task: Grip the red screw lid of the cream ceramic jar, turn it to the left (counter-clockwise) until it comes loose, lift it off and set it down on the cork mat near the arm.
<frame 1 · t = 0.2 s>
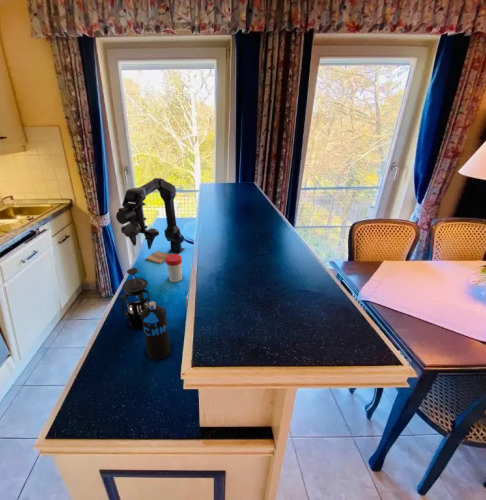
hand: (142, 247, 136), 15 cm above the table, tool pointing down, fingers open, 9 cm apart
aerosol can: (158, 351, 95), on the table
cork mat: (158, 257, 157), on the table
jar: (175, 278, 137), on the table
lid: (173, 258, 132), point 11 cm above the table, screwed on, not yet turned
french press: (140, 321, 109), on the table
small box: (196, 315, 112), on the table
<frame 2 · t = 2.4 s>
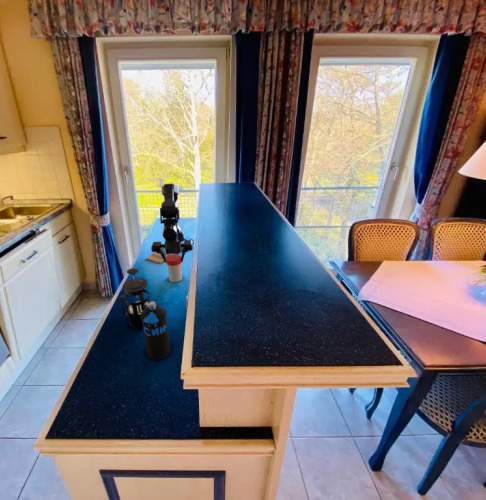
hand: (173, 262, 133), 9 cm above the table, tool pointing down, fingers closed on lid, 7 cm apart
lid: (173, 258, 132), point 11 cm above the table, screwed on, not yet turned, touching gripper
everything else where it was.
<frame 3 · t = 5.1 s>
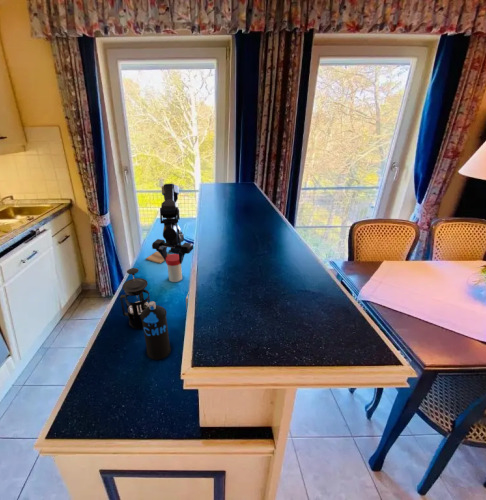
hand: (174, 262, 133), 9 cm above the table, tool pointing down, fingers closed on lid, 7 cm apart
lid: (173, 258, 132), point 11 cm above the table, off its thread, touching gripper
everything else where it was.
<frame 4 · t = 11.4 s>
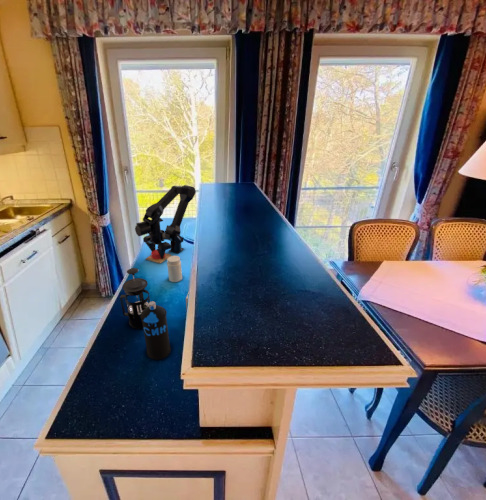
hand: (158, 256, 156), 1 cm above the table, tool pointing down, fingers closed on lid, 7 cm apart
lid: (158, 253, 155), point 3 cm above the table, off its thread, touching gripper
everything else where it was.
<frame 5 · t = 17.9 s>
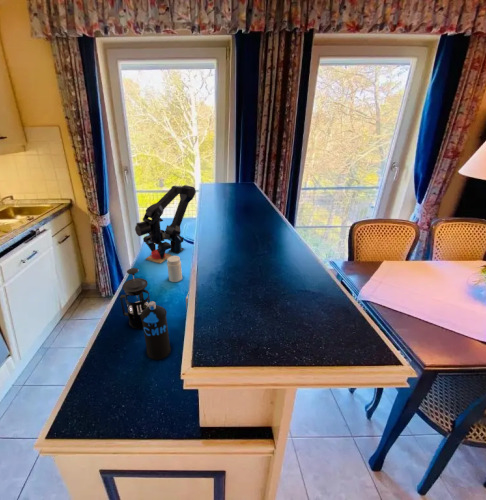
hand: (158, 256, 156), 1 cm above the table, tool pointing down, fingers closed on lid, 7 cm apart
lid: (158, 253, 155), point 3 cm above the table, off its thread, touching gripper
everything else where it was.
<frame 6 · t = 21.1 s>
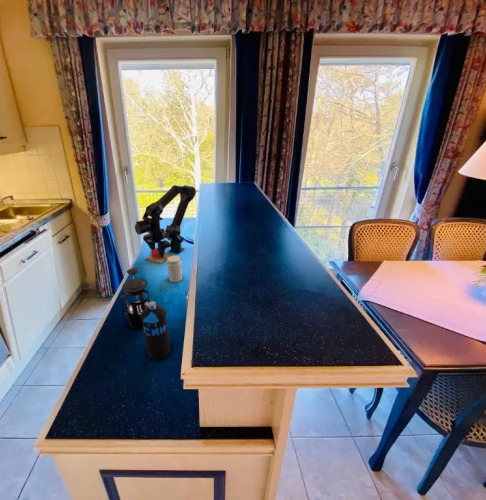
hand: (158, 255, 156), 2 cm above the table, tool pointing down, fingers closed on lid, 7 cm apart
lid: (157, 251, 155), point 4 cm above the table, off its thread, touching gripper
everything else where it was.
when the fingers open (2 cm above the table, at t = 24.0 s): lid drops 2 cm, resting on cork mat.
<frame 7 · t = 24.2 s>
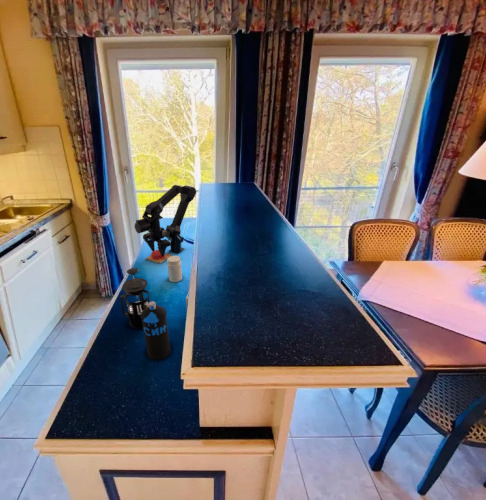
hand: (158, 253, 156), 2 cm above the table, tool pointing down, fingers open, 9 cm apart
lid: (158, 253, 156), point 3 cm above the table, off its thread, touching cork mat
everything else where it was.
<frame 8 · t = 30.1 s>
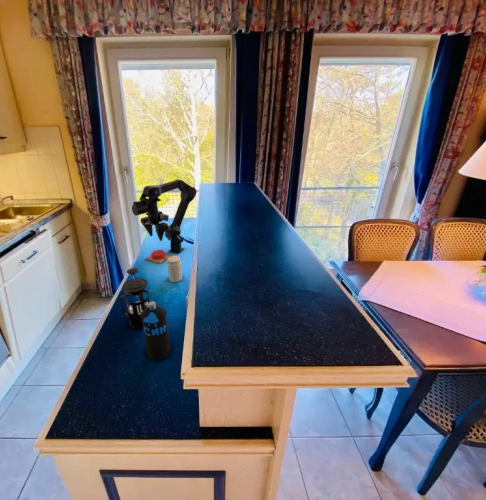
hand: (156, 238, 151), 12 cm above the table, tool pointing down, fingers open, 9 cm apart
nothing on the table moved.
at the end: lid inside the target area on the cork mat (0.0 cm from its centre), point 2.7 cm above the cork mat's base; lid tilted 0°; jar inside the target area (0.0 cm from its centre), on the table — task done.
